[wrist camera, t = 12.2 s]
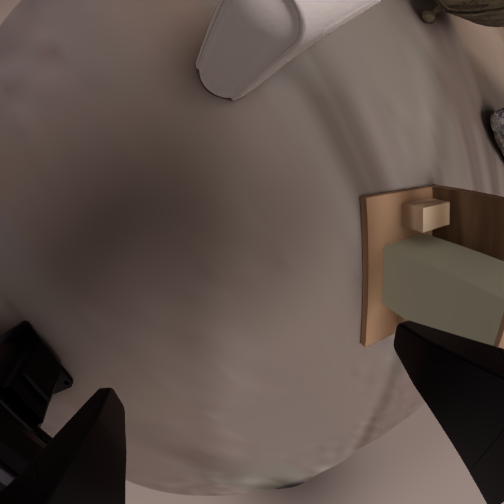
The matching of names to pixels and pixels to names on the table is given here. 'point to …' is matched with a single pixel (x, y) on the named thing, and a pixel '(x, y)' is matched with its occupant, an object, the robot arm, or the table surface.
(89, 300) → the table surface
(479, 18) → the green spouted canister
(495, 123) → the mineral rock
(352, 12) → the photo printer
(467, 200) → the cleat board
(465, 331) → the cabinet block
